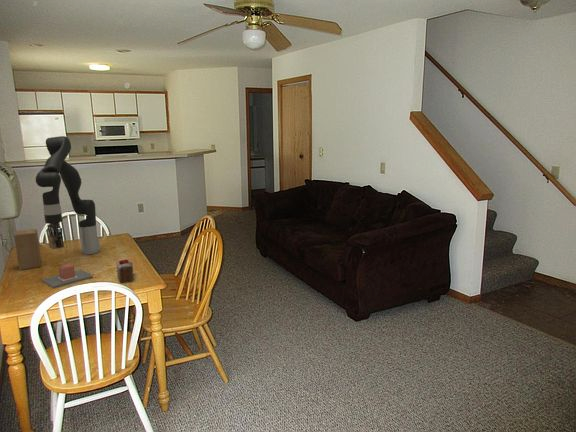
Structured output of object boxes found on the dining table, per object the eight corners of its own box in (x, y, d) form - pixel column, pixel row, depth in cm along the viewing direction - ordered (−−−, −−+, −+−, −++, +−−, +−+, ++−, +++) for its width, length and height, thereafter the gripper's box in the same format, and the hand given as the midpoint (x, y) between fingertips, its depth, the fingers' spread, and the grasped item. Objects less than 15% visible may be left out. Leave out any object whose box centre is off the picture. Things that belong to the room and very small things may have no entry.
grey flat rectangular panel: (80, 271, 222) (80, 269, 222) (93, 277, 212) (92, 275, 212) (42, 280, 208) (41, 278, 208) (53, 288, 198) (52, 286, 198)
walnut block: (60, 245, 210) (59, 233, 209) (64, 247, 207) (62, 235, 206) (49, 247, 207) (48, 235, 206) (53, 249, 203) (51, 237, 202)
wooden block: (19, 270, 224) (13, 234, 220) (21, 265, 233) (16, 230, 229) (40, 267, 229) (35, 232, 224) (41, 262, 237) (36, 228, 233)
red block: (71, 274, 214) (69, 263, 213) (75, 277, 210) (74, 265, 209) (59, 277, 210) (58, 266, 209) (63, 279, 206) (62, 268, 205)
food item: (116, 275, 216) (114, 257, 214) (132, 272, 220) (130, 255, 217) (119, 283, 204) (117, 264, 202) (136, 280, 208) (134, 262, 206)
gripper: (66, 213, 201) (70, 247, 205) (55, 210, 211) (59, 242, 214) (49, 216, 196) (53, 250, 199) (39, 212, 205) (44, 245, 209)
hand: (57, 245), depth 207 cm, fingers closed on walnut block, 5 cm apart
